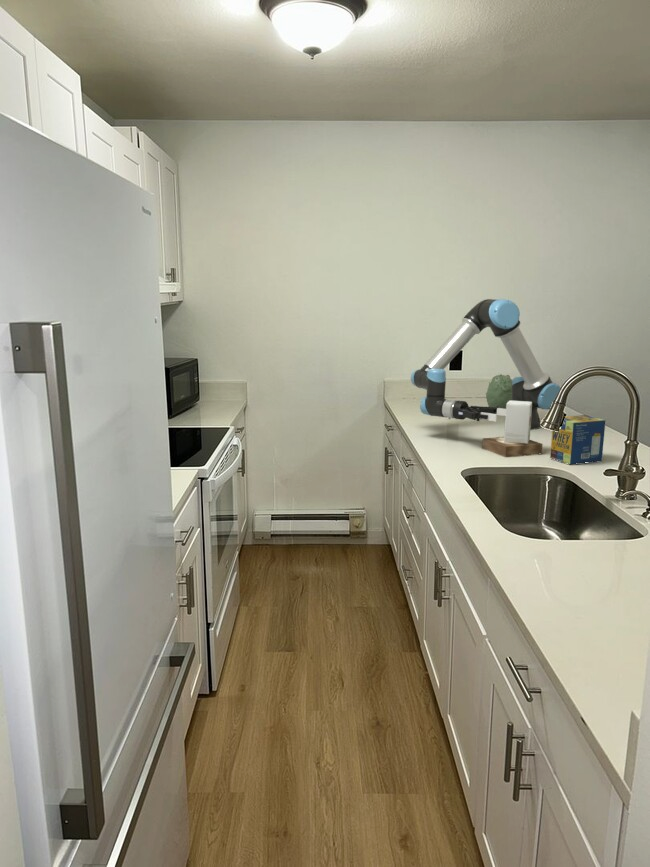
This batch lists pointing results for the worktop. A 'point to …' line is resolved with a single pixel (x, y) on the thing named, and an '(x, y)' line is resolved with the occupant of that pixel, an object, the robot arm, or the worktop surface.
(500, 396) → the cabbage
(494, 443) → the pedestal
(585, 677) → the worktop surface
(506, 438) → the supplement box
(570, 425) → the protein box
